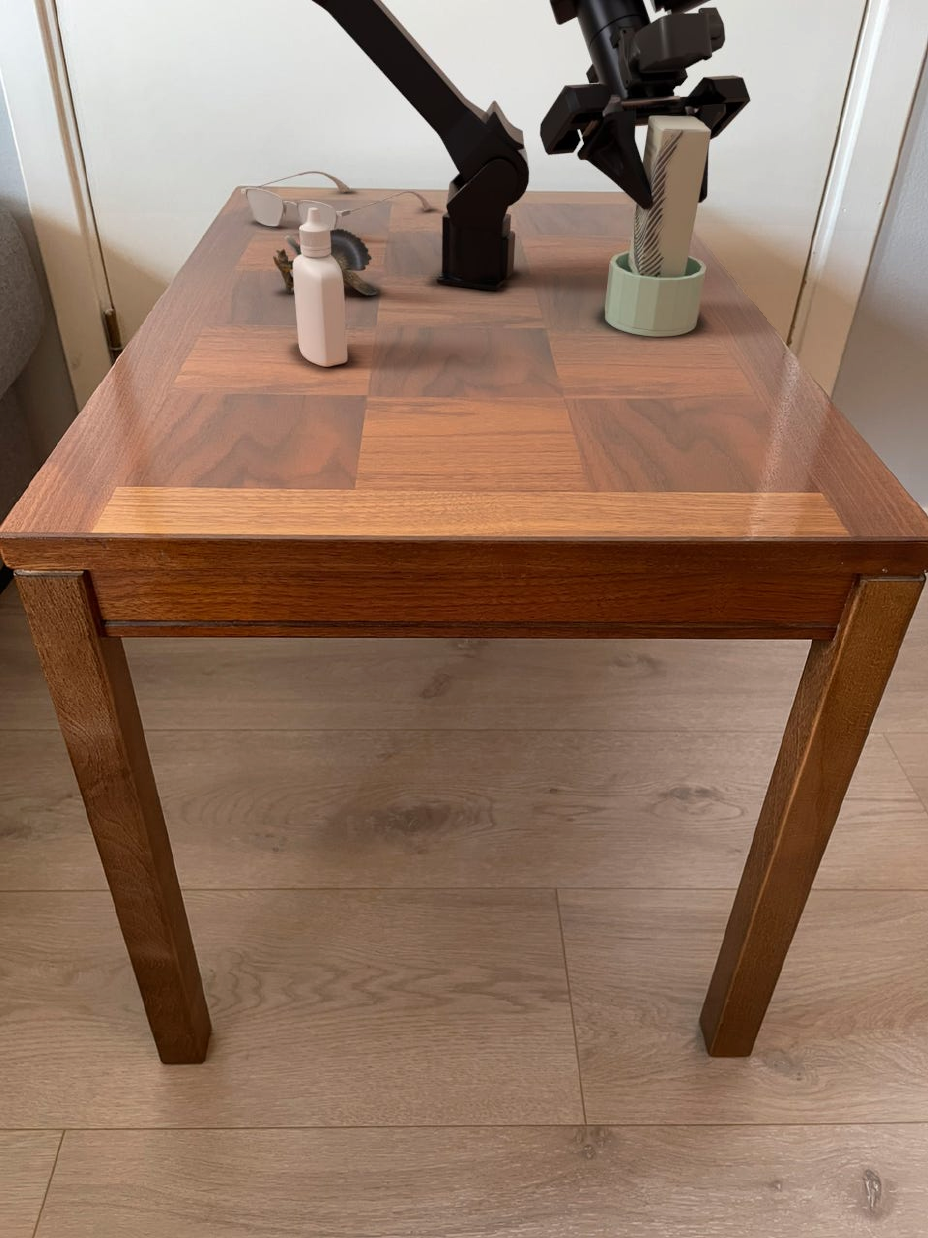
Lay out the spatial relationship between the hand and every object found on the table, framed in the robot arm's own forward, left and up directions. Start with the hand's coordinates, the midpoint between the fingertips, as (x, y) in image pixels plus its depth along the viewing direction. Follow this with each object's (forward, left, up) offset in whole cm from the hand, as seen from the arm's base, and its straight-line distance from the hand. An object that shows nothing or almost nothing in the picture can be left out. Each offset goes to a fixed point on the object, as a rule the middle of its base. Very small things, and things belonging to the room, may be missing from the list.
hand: (675, 203), depth 85 cm
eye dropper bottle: (-26, -18, -11) cm, 33 cm away
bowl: (-1, +1, -11) cm, 11 cm away
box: (-1, +1, -7) cm, 7 cm away
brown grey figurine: (-32, -4, -11) cm, 34 cm away
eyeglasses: (-42, +22, -11) cm, 49 cm away
